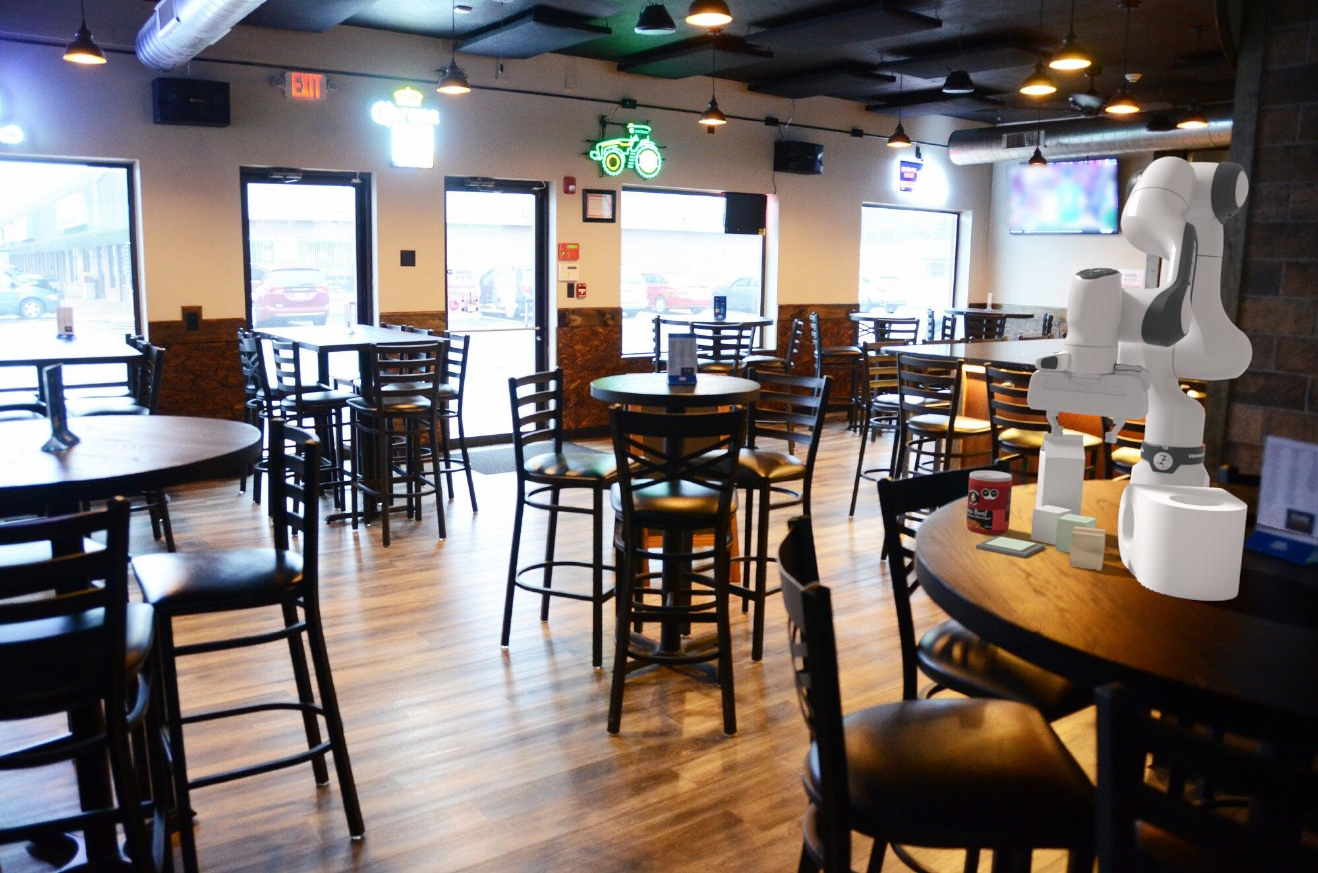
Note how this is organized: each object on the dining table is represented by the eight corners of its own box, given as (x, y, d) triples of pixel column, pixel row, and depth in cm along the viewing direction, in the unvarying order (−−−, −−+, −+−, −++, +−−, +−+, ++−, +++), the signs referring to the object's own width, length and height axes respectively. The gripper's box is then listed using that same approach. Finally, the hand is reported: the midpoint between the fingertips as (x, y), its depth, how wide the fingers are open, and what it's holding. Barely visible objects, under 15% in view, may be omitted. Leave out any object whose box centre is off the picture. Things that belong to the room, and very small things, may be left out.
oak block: (1072, 559, 183) (1074, 526, 182) (1103, 563, 181) (1105, 529, 180) (1069, 566, 179) (1072, 532, 178) (1100, 570, 177) (1103, 536, 176)
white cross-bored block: (1251, 604, 160) (1201, 559, 184) (1261, 513, 158) (1209, 480, 182) (1151, 597, 163) (1115, 554, 187) (1160, 507, 160) (1122, 476, 185)
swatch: (997, 539, 196) (997, 534, 196) (1044, 548, 190) (1044, 543, 190) (976, 548, 189) (976, 543, 189) (1024, 557, 184) (1024, 553, 183)
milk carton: (1079, 536, 199) (1086, 437, 196) (1039, 533, 200) (1047, 436, 197) (1072, 527, 206) (1079, 432, 203) (1034, 524, 207) (1041, 430, 204)
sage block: (1065, 545, 193) (1068, 513, 192) (1093, 550, 189) (1096, 518, 188) (1055, 550, 189) (1057, 518, 188) (1083, 556, 186) (1086, 523, 185)
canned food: (957, 526, 205) (961, 471, 203) (990, 523, 208) (993, 469, 206) (984, 536, 198) (987, 479, 196) (1017, 532, 201) (1021, 476, 199)
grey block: (1045, 535, 199) (1048, 504, 198) (1069, 541, 196) (1072, 509, 195) (1030, 539, 196) (1033, 508, 195) (1055, 545, 193) (1057, 513, 192)
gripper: (1158, 365, 179) (1150, 444, 181) (1040, 356, 192) (1034, 430, 195) (1146, 367, 174) (1138, 448, 177) (1026, 358, 188) (1020, 434, 190)
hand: (1083, 439), depth 186 cm, fingers open, 8 cm apart
